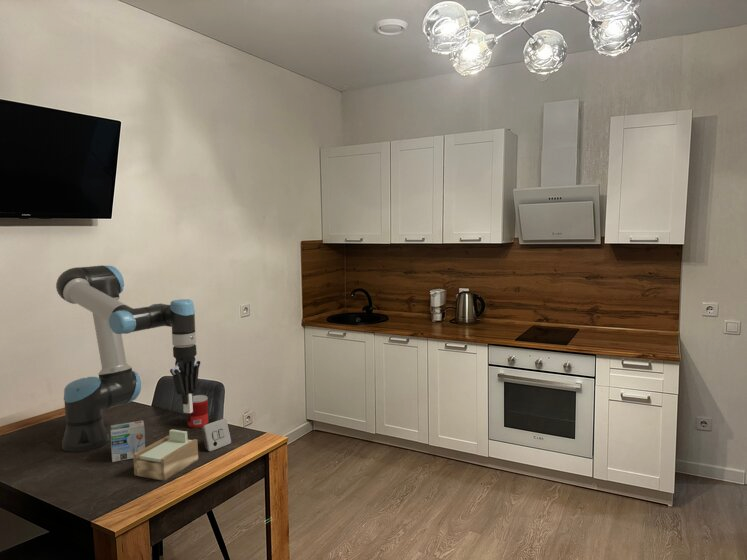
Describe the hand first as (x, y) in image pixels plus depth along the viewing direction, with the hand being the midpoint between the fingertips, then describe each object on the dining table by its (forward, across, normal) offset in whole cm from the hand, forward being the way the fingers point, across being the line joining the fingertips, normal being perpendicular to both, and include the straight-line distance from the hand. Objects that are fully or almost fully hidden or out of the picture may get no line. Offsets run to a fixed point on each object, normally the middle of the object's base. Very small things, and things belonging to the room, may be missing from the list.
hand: (188, 412), depth 181 cm
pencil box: (+15, -11, 0) cm, 18 cm away
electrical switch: (+15, +8, -4) cm, 18 cm away
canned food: (+15, +23, +15) cm, 31 cm away
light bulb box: (+15, -8, +20) cm, 26 cm away
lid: (+9, -11, 0) cm, 15 cm away
